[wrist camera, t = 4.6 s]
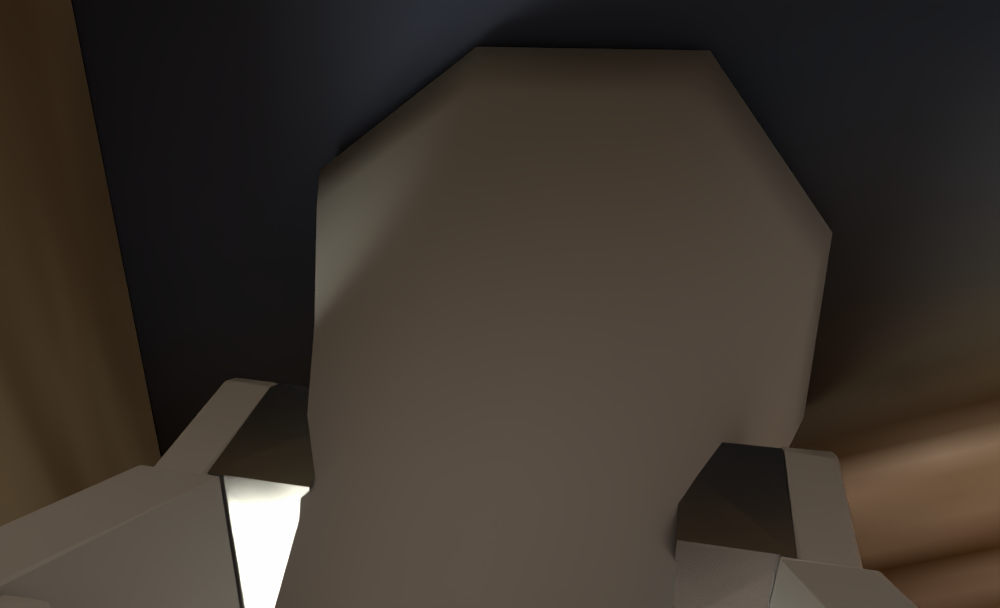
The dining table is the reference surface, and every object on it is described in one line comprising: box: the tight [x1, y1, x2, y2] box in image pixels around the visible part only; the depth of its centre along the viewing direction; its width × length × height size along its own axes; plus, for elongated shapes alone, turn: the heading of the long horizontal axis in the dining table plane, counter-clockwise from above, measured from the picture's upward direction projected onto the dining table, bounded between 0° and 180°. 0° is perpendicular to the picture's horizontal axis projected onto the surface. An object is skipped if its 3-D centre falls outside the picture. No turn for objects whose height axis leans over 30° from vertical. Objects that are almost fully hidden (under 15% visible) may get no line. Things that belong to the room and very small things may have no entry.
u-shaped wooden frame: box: [0, 0, 161, 526], centre depth 11 cm, size 14×13×6 cm
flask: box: [275, 47, 832, 608], centre depth 9 cm, size 7×7×10 cm
